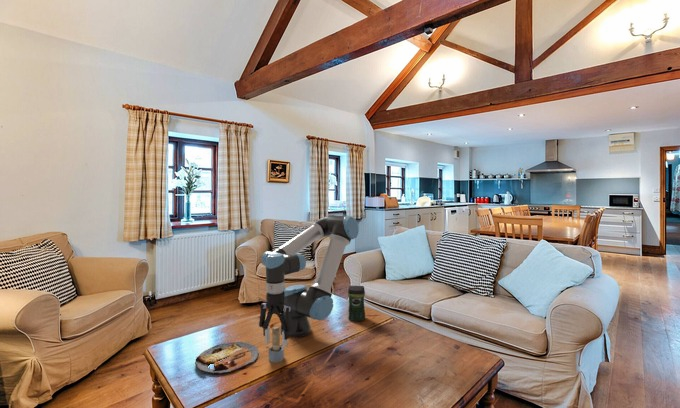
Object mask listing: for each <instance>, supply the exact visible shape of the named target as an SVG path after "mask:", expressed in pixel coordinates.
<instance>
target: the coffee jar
mask: <svg viewBox="0 0 680 408" xmlns="http://www.w3.org/2000/svg"><path fill="white" fill-rule="evenodd" d="M365 295H366V290H365V286H364V285H349V286H348V289H347V296H348V310H347V311H348V312H347V319H348V320H349V321H352V322H363V321H364V320H365V319H366V311H365V310H366V309H365Z"/></svg>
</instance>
